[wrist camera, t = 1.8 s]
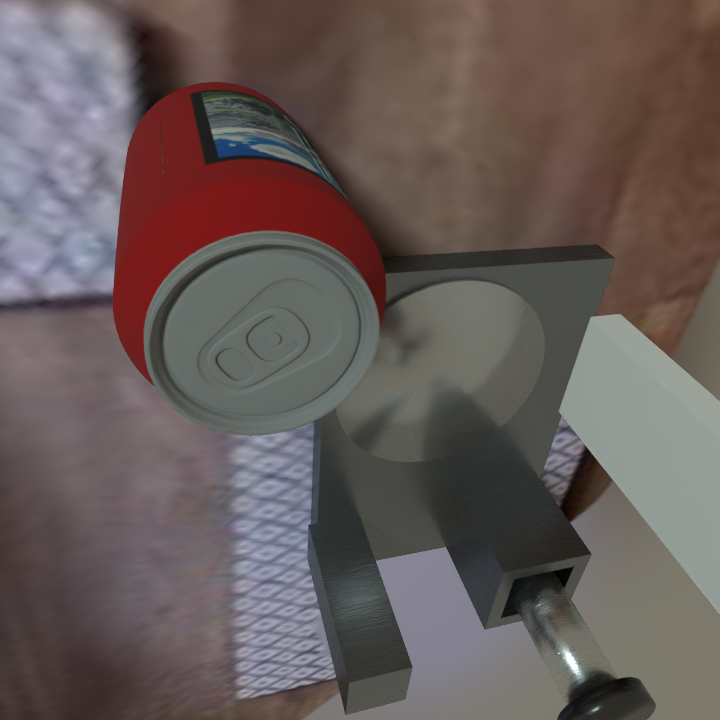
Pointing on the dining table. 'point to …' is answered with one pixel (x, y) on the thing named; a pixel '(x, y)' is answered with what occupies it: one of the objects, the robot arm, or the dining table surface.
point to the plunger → (576, 655)
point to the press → (449, 447)
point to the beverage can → (242, 266)
